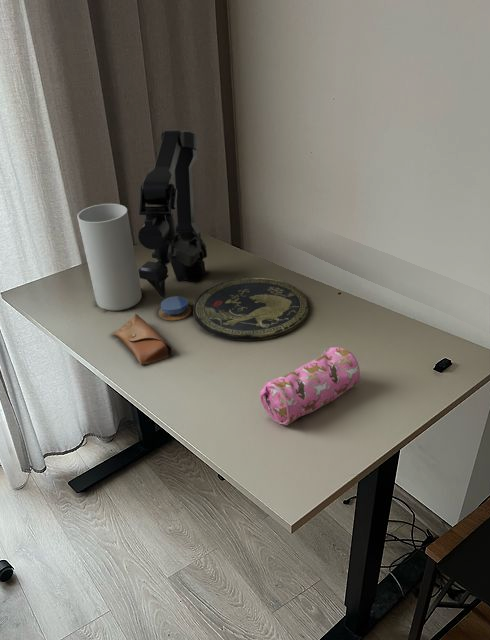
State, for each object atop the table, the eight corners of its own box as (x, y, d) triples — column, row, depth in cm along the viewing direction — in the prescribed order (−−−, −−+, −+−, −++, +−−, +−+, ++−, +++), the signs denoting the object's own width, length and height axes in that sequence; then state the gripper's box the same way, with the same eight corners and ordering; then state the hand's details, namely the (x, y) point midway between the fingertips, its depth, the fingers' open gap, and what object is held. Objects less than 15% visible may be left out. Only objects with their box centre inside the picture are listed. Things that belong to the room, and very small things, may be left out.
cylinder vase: (105, 289, 172) (87, 203, 157) (147, 289, 170) (132, 203, 155) (90, 311, 162) (69, 222, 147) (135, 312, 160) (118, 222, 145)
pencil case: (329, 371, 133) (331, 337, 128) (362, 390, 127) (365, 355, 122) (256, 414, 123) (255, 379, 118) (287, 436, 117) (287, 400, 112)
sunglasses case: (109, 333, 151) (118, 309, 149) (133, 337, 156) (142, 313, 154) (141, 366, 139) (150, 340, 137) (166, 369, 143) (176, 344, 141)
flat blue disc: (156, 315, 157) (155, 307, 156) (169, 302, 162) (168, 294, 161) (180, 319, 155) (179, 311, 153) (192, 306, 160) (191, 298, 158)
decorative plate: (168, 314, 154) (237, 267, 172) (169, 321, 155) (237, 273, 174) (266, 349, 139) (330, 293, 157) (266, 355, 140) (329, 300, 158)
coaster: (152, 317, 157) (152, 316, 157) (168, 302, 163) (168, 300, 163) (181, 323, 154) (181, 321, 154) (196, 307, 160) (196, 305, 160)
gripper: (174, 251, 136) (182, 311, 145) (210, 220, 149) (215, 277, 158) (132, 245, 140) (142, 304, 149) (171, 216, 153) (178, 272, 162)
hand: (171, 289), depth 154 cm, fingers open, 9 cm apart
